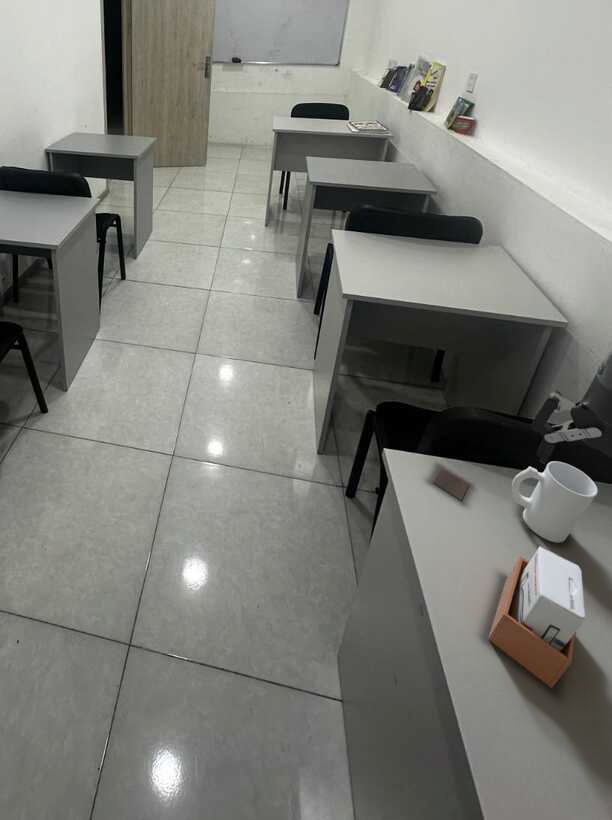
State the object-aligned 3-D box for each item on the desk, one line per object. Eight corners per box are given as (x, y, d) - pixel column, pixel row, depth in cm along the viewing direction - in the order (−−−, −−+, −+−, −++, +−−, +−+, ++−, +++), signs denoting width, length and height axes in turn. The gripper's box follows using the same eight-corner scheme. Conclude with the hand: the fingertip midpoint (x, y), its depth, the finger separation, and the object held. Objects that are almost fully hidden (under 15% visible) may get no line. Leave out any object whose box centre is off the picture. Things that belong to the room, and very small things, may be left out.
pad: (468, 486, 91) (469, 484, 91) (460, 502, 87) (461, 500, 87) (440, 469, 94) (440, 467, 94) (431, 484, 91) (432, 482, 90)
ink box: (507, 592, 73) (537, 542, 68) (546, 614, 71) (581, 564, 66) (505, 645, 67) (539, 594, 62) (549, 672, 64) (587, 620, 59)
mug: (563, 521, 86) (592, 473, 81) (570, 553, 80) (602, 504, 75) (497, 493, 90) (522, 446, 85) (500, 521, 85) (526, 473, 80)
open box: (562, 622, 70) (581, 595, 68) (550, 689, 63) (571, 662, 60) (504, 582, 75) (520, 556, 72) (486, 640, 67) (503, 613, 65)
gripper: (720, 407, 56) (653, 502, 63) (571, 346, 66) (526, 434, 72) (720, 438, 51) (648, 537, 58) (559, 368, 61) (512, 460, 67)
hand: (580, 480), depth 65 cm, fingers open, 8 cm apart
